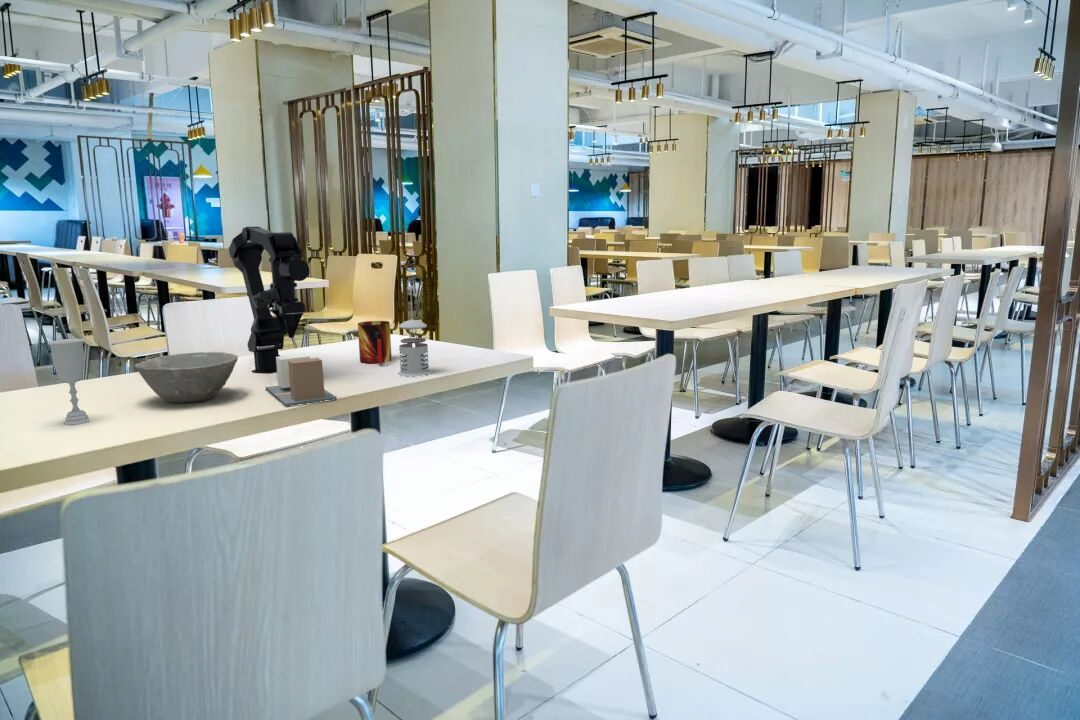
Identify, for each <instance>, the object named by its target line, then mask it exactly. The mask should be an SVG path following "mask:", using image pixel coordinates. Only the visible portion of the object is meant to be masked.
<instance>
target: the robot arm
mask: <svg viewBox="0 0 1080 720" xmlns="http://www.w3.org/2000/svg"><path fill="white" fill-rule="evenodd" d="M264 250H265V252H267V253H268V254H269V259H268V262H269V263H270V267H271V279H272V282H271V283H270V284H269V288H268V289H266V290H265V286H264V283H263V280H262V275H261V271H260V265H261V263H262V260H263V252H264ZM228 254H229V257H230V258H231V260H232V262H233V265H234V266H235V267H236V269H238V271H240V272H241V273H242V277H243V281H244V284H245V289H246V293H247V297H248V300H249V304H250V308H251V313H252V315H253V316H252V317H253V321H252V324H251V328H250V335H249V338H248V341H247V343H246V344H247V349H248V352H250V353H253V357H254V358H253V359H254V368H255V369H252V370H251V373H261V374H262V373H263V374H271V373H274V372H277V364H276V357H279V356H281V355H280V354H279V350H283V349H284V344H285V343H284V342H285V336H286V335H288V338H289V339H293V338H295V334H296V332H297V329H298V326H299V324H300V321H301V319H302V317H303V315H304V313H307V311H306V310H307V309H306V308H307V306H306V304H305V303H303V302H302V301H300V300H299V298H298V297H297V294H296V287H297V288H298V283H297V282H302V281H304V280H306V279H307V278H308V277H309V275H310V267H309V265H308V263H307V262H306V261H305V260H304V259H302V258H303V256H304V255H303V250H302V247H301V246H300V244H299V243H298V241H297V238H296V236H295V235H294V233H292V232H291V231H288V232H274V231H271V230H268V229H265V228H263V227H260V226H245V227H243V228H242V230H241V232H240V233H238V234H237V235H236V236H235V237H233V238H232V239H231V243H230V246H229V249H228ZM271 313H272V314H271ZM274 315H275V317H274Z"/></svg>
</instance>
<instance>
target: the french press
mask: <svg viewBox="0 0 1080 720" xmlns="http://www.w3.org/2000/svg"><path fill="white" fill-rule="evenodd" d="M407 290H408V291H410V292H409V293H410V295H412V291H413V290H415V287H414V286H413V285H407ZM412 297H413V296H410V309H411V312H410V313H411V315H413V304H412V302H413V301H412V299H413V298H412ZM397 327H398V328H399V329H401V330H409V337H408V338H402V339H400V340H399V341H400V343H402V344H400V345H399V349H398V350H399V360H400V361H399V363H400V365H399V366H400V367H399V369H400V371H399V372H398V373H397V374H398V375H400V376H399V377H402V376H405V377H404V378H411V377H410V376H421V377H423V376H422V375H426V374H429V373H431V372H432V371H431V370H430V369H429V351H428V349H429V348H428V347H429V346H428V344H427V343H425V342H426V341H427V339H426V338H424V337H417V336H418V333H417V330H420V329H425V328H427V327H428V325H427V324H426V323H425V322H423V321H421V320H417V319H416V320H415V319H413V317H411V319H410V320H406V321H404V322H402V323H400V324H399V325H397ZM414 330H415V332H414ZM411 331H412V332H411ZM414 335H415V337H412V336H414ZM413 344H414V346H413ZM398 375H397V376H398ZM406 376H407V377H406Z"/></svg>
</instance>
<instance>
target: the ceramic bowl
mask: <svg viewBox="0 0 1080 720" xmlns="http://www.w3.org/2000/svg"><path fill="white" fill-rule="evenodd" d="M238 360H239V357H238V355H236V354H233V353H228V352H220V351H219V352H217V351H211V352H199V351H198V352H187V353H186V352H185V353H176V354H169V355H168V354H167V355H162V356H156V357H153V358H149V359H146V360H141V361H140V362H138V363H136V364H134V368H135V369H136V370H137V372H138V373H139V375H140V376H141V378H142V379H143V380H144V381H145V383H146V385H148V386H149V388H150V389H151V390H152V391H153V392H154V393H155V394H156V395H158V397H160V398H161V399H163V401H166V402H168V403H172V404H180V403H181V404H183V403H184V402H187V403H196V402H203V401H206V400H208V399H211V398H212V397H215V396H216V395H218V394H219V393H220V391H221V390H222V389H223V387H224V386H225V385H226V384H227V381H228V380H229V378H230V376H231V375H232V373H233V370H234V368H235V366H236V364H237V362H238ZM184 404H185V403H184Z"/></svg>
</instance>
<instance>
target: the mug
mask: <svg viewBox="0 0 1080 720" xmlns="http://www.w3.org/2000/svg"><path fill="white" fill-rule="evenodd" d="M357 336H358V350H359V362H361V363H360V364H363V363H365V365H378V364H377V363H381V364H386V363H385V362H387V363H390V362H391V360H392V344H391V343H392V341H391V339H392V338H391V323H390V321H388V320H369V321H368V320H366V321H361V322H358V323H357ZM389 361H390V362H389Z"/></svg>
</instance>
